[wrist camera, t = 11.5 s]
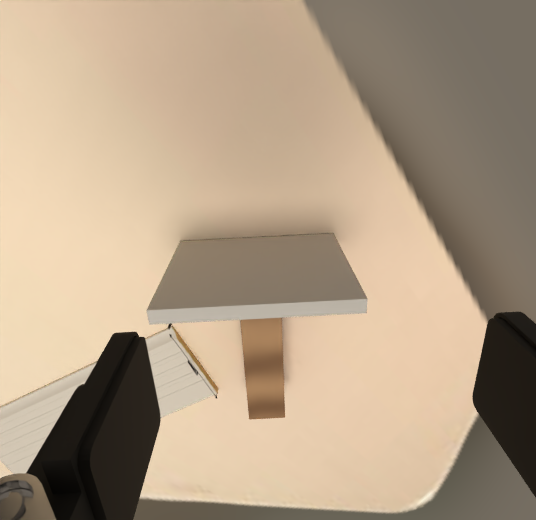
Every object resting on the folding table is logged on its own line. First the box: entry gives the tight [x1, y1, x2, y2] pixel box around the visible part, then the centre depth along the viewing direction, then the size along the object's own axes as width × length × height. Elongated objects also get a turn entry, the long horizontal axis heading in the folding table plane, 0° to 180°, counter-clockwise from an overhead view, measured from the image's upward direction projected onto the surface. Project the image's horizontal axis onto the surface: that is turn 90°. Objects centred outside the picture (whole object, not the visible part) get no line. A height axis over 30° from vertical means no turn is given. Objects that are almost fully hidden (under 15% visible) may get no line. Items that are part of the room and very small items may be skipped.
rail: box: [241, 318, 285, 419], centre depth 43 cm, size 16×4×6 cm, turn 3°
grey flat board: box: [0, 323, 218, 474], centre depth 49 cm, size 31×3×12 cm
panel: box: [147, 233, 367, 325], centre depth 36 cm, size 5×16×14 cm, turn 93°
